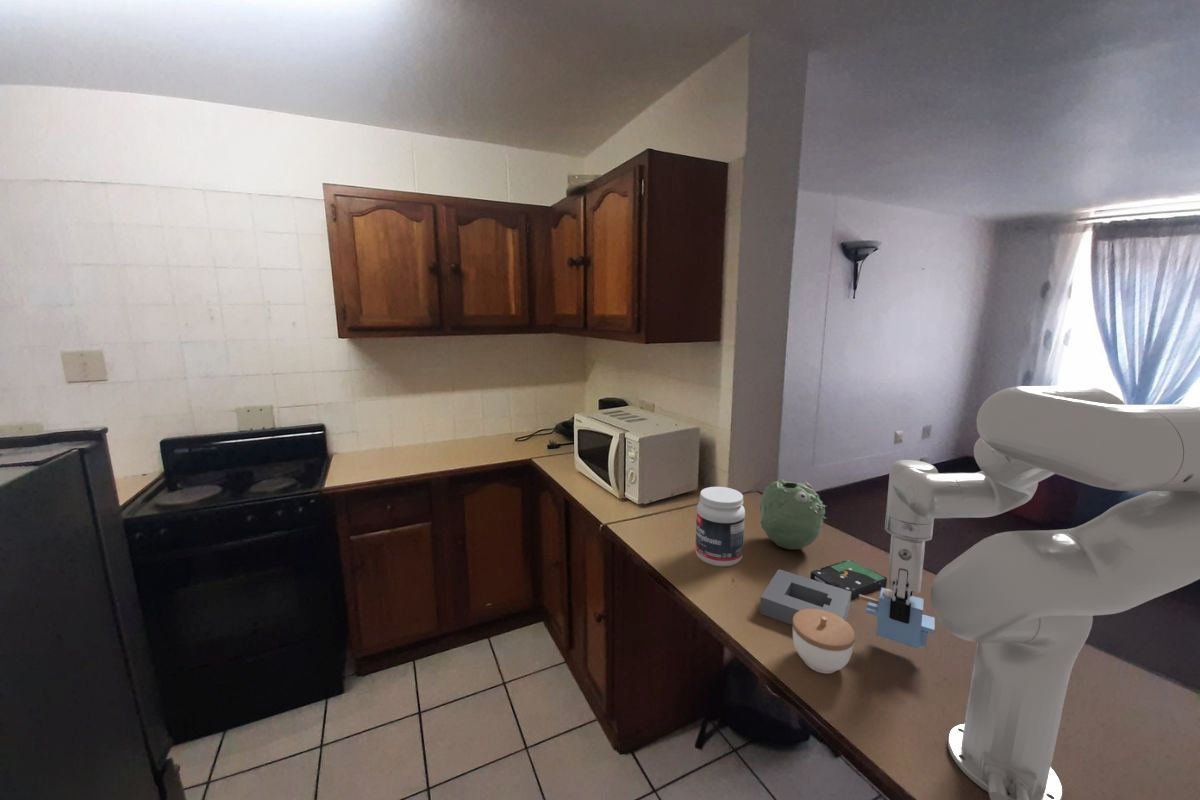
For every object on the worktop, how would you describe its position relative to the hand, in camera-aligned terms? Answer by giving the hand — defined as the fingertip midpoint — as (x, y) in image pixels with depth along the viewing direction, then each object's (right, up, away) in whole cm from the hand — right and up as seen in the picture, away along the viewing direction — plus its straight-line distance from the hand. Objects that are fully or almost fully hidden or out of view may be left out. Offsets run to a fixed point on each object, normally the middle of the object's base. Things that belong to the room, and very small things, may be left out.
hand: (900, 612), depth 89 cm
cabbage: (-5, -1, +42) cm, 43 cm away
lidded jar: (-16, -9, -1) cm, 19 cm away
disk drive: (+3, -5, +25) cm, 25 cm away
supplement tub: (-26, -2, +37) cm, 45 cm away
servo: (0, -5, +1) cm, 5 cm away
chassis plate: (-12, -6, +14) cm, 20 cm away
